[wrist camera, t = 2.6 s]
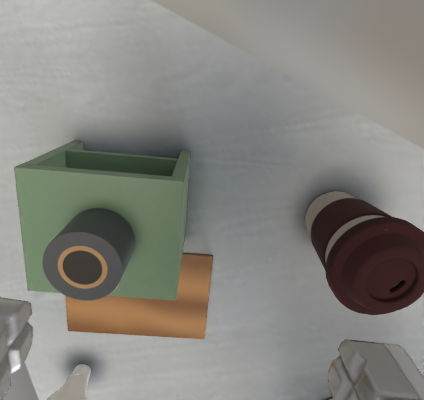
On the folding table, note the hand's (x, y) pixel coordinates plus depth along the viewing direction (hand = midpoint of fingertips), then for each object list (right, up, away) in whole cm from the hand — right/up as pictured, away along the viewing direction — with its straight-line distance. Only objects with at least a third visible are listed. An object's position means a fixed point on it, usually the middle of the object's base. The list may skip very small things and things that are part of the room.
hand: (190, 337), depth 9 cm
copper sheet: (-10, -10, +38) cm, 40 cm away
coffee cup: (+16, +2, +35) cm, 38 cm away
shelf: (-10, +5, +33) cm, 35 cm away
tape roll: (-9, 0, +21) cm, 23 cm away
